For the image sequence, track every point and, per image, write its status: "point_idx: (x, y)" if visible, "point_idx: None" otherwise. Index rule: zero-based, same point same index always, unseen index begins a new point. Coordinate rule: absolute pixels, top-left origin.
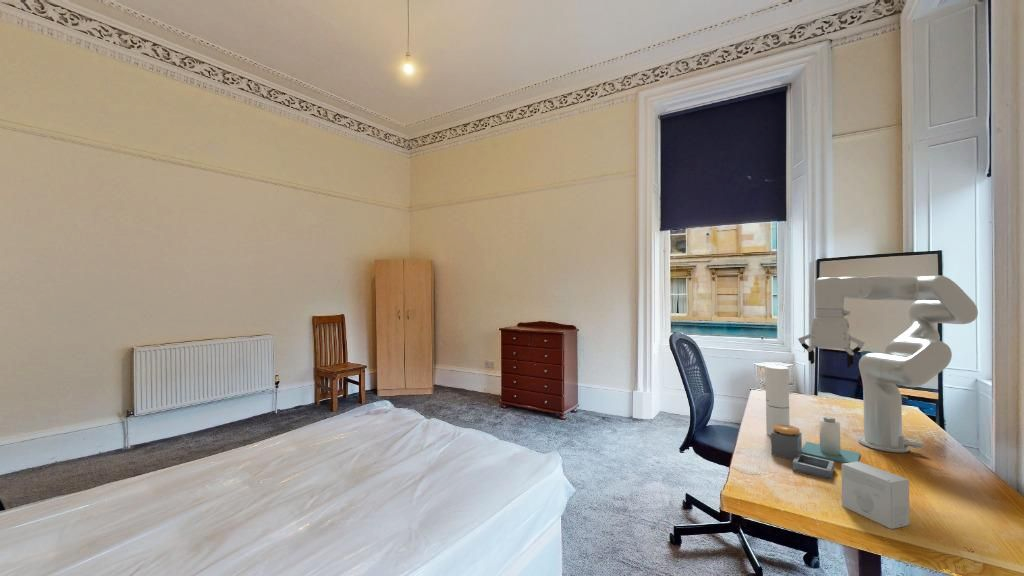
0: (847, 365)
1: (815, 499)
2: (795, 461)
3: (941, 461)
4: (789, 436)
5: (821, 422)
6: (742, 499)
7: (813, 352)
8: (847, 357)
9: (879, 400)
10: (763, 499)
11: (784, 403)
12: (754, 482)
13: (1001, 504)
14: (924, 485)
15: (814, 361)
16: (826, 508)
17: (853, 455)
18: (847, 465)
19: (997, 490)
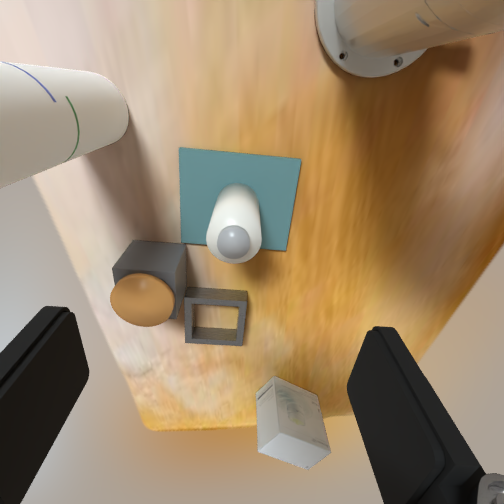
0: (350, 399)
1: (228, 394)
2: (189, 338)
3: (493, 68)
4: None
5: (214, 254)
6: (160, 430)
7: (1, 492)
8: (382, 490)
9: (470, 29)
10: (179, 420)
11: (60, 160)
12: (156, 392)
13: (463, 281)
14: (378, 271)
15: (66, 318)
16: (240, 405)
17: (284, 193)
18: (264, 453)
19: (500, 218)
